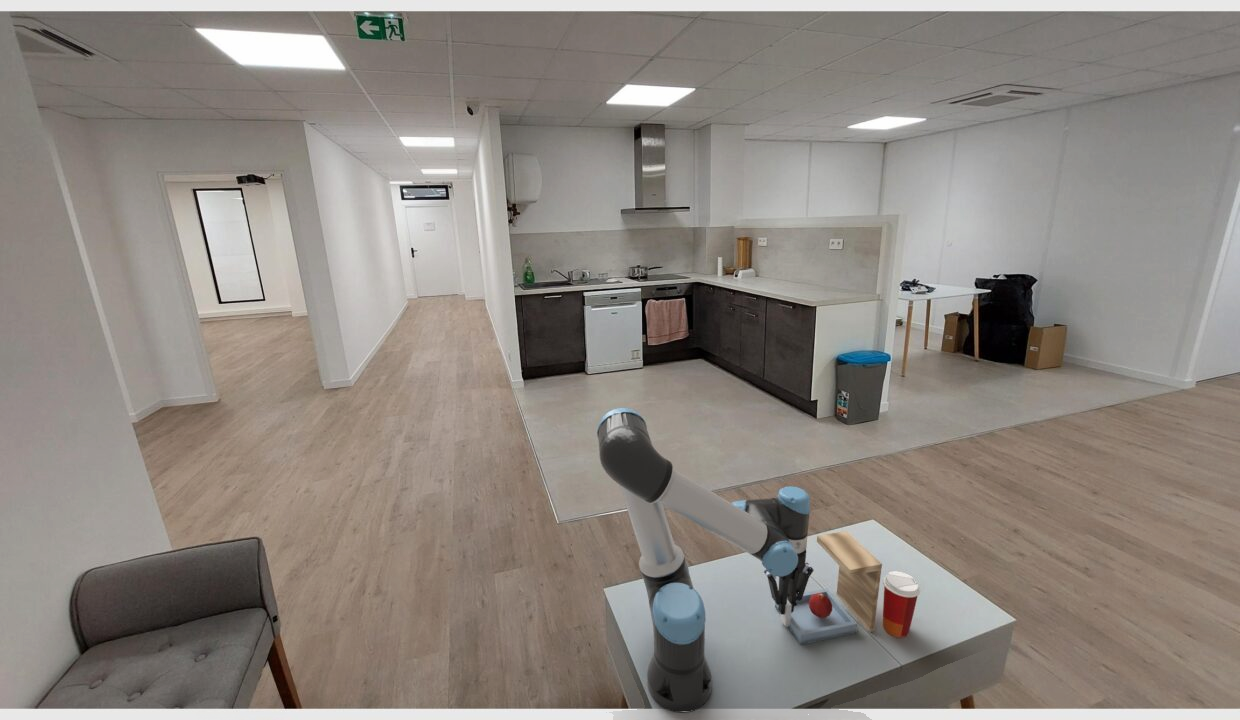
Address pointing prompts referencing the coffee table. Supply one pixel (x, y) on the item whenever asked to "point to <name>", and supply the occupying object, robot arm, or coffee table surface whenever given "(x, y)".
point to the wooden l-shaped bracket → (855, 575)
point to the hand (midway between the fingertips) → (785, 621)
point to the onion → (820, 605)
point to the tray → (819, 620)
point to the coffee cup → (899, 603)
